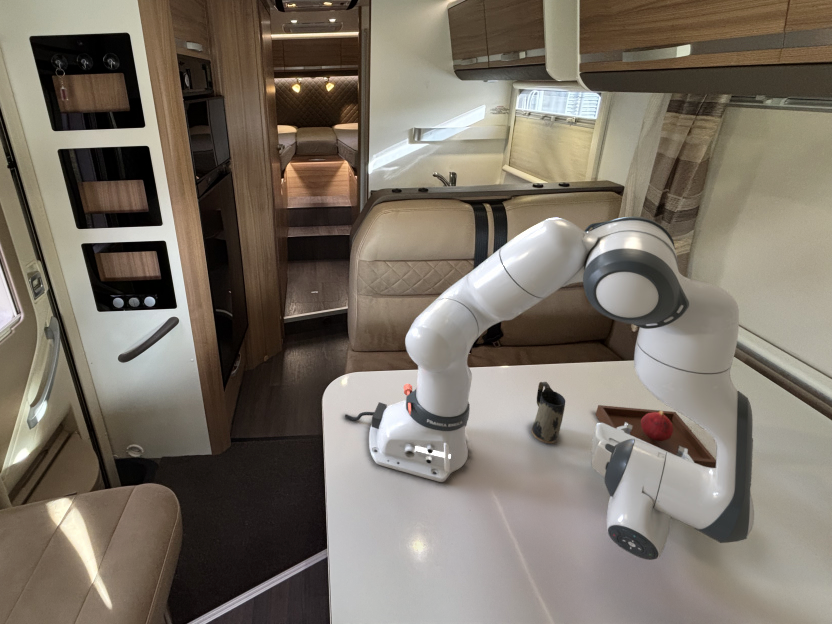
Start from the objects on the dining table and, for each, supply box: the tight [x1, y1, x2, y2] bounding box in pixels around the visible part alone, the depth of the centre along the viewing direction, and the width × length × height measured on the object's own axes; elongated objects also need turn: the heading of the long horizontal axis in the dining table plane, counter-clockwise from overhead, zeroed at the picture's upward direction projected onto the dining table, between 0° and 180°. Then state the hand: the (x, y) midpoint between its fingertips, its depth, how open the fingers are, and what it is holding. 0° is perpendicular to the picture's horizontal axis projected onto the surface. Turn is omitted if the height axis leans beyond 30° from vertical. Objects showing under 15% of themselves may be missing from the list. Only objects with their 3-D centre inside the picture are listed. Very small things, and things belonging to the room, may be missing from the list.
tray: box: [595, 404, 716, 468], centre depth 99 cm, size 18×15×3 cm
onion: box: [641, 410, 673, 441], centre depth 97 cm, size 6×6×8 cm
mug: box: [531, 381, 566, 444], centre depth 100 cm, size 8×6×12 cm
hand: (654, 437), depth 91 cm, fingers open, 8 cm apart
